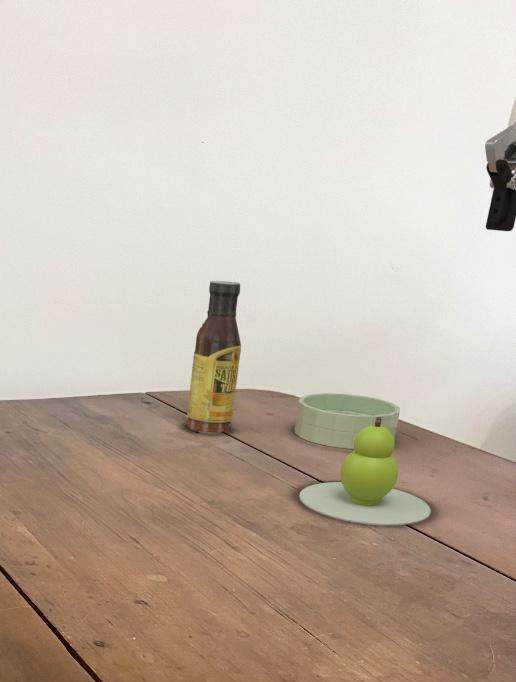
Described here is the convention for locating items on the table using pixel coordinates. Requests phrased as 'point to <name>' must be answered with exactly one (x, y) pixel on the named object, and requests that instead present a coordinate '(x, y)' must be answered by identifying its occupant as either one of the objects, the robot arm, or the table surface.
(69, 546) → the table surface
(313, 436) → the bowl
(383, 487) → the pear
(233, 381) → the sauce bottle
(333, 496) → the mat
